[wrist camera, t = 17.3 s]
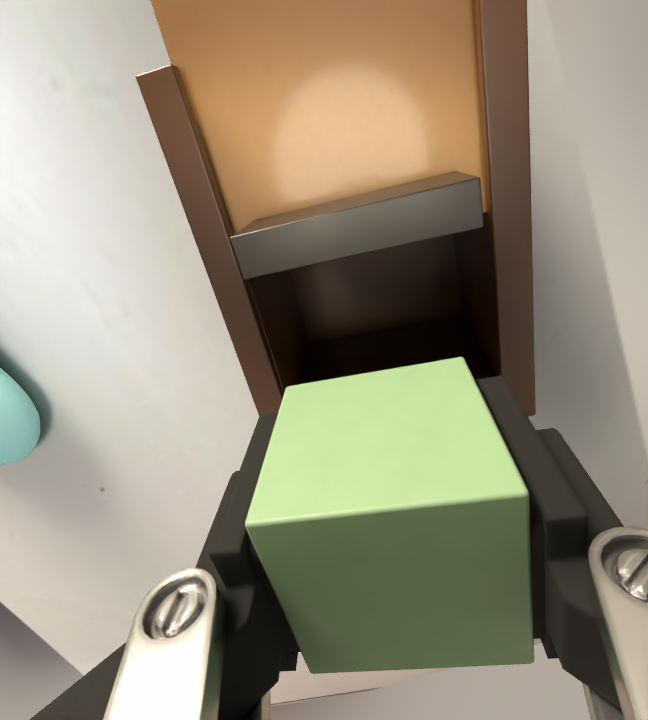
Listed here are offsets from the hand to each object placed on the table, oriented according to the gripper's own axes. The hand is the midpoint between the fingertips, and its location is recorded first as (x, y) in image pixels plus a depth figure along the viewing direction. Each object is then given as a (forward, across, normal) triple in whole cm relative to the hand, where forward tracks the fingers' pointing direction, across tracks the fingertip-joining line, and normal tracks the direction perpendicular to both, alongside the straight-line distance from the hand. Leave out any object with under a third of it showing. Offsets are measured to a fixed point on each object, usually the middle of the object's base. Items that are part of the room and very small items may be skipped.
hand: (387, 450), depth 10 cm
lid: (+7, 0, -10) cm, 12 cm away
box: (+14, 0, -3) cm, 15 cm away
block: (0, 0, 0) cm, 0 cm away
